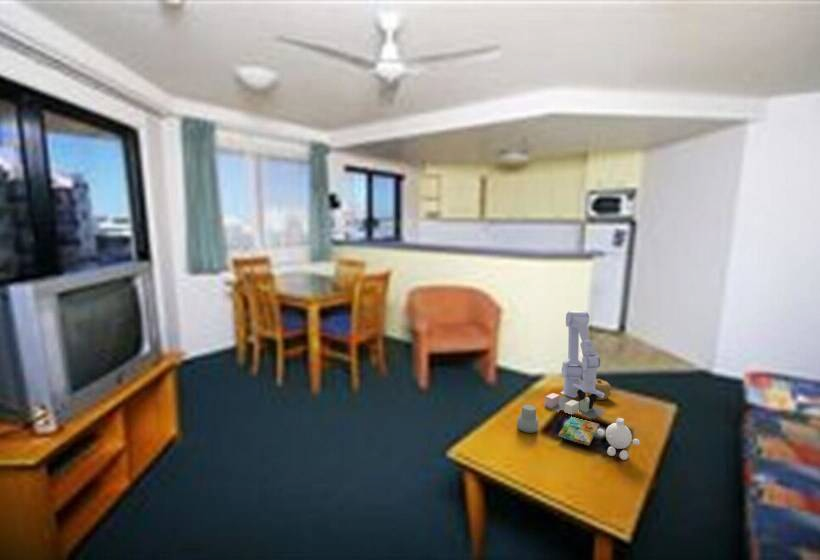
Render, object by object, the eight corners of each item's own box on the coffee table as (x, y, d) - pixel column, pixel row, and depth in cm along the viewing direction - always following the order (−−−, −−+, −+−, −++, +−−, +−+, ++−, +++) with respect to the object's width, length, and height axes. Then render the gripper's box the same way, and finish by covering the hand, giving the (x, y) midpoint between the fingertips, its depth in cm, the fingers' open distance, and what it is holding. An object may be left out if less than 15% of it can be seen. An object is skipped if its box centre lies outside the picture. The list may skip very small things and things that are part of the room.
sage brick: (586, 405, 209) (586, 396, 208) (593, 408, 206) (594, 399, 206) (579, 409, 204) (580, 400, 203) (586, 412, 201) (587, 403, 201)
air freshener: (536, 437, 177) (538, 414, 175) (516, 433, 180) (518, 410, 178) (537, 425, 187) (539, 404, 186) (518, 422, 190) (520, 400, 188)
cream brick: (571, 408, 205) (572, 399, 204) (578, 411, 202) (579, 402, 202) (564, 412, 200) (564, 403, 200) (571, 415, 198) (572, 405, 197)
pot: (602, 393, 226) (604, 375, 225) (614, 402, 215) (616, 383, 213) (581, 393, 226) (582, 375, 224) (591, 402, 214) (593, 383, 213)
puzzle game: (599, 422, 183) (589, 440, 167) (598, 432, 184) (588, 451, 168) (571, 414, 190) (558, 431, 173) (570, 424, 190) (557, 442, 174)
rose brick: (552, 401, 212) (552, 392, 211) (558, 404, 210) (559, 395, 209) (544, 405, 207) (545, 396, 207) (551, 407, 205) (552, 398, 204)
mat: (563, 396, 220) (563, 395, 220) (606, 411, 204) (606, 410, 204) (542, 406, 207) (542, 406, 207) (587, 423, 191) (587, 423, 191)
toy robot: (593, 453, 166) (596, 417, 164) (597, 443, 174) (601, 408, 172) (636, 466, 158) (640, 428, 156) (638, 455, 166) (643, 419, 164)
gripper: (570, 377, 206) (568, 404, 208) (600, 386, 195) (597, 414, 197) (577, 374, 210) (574, 400, 212) (607, 383, 200) (604, 410, 202)
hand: (586, 407), depth 205 cm, fingers closed on sage brick, 3 cm apart
